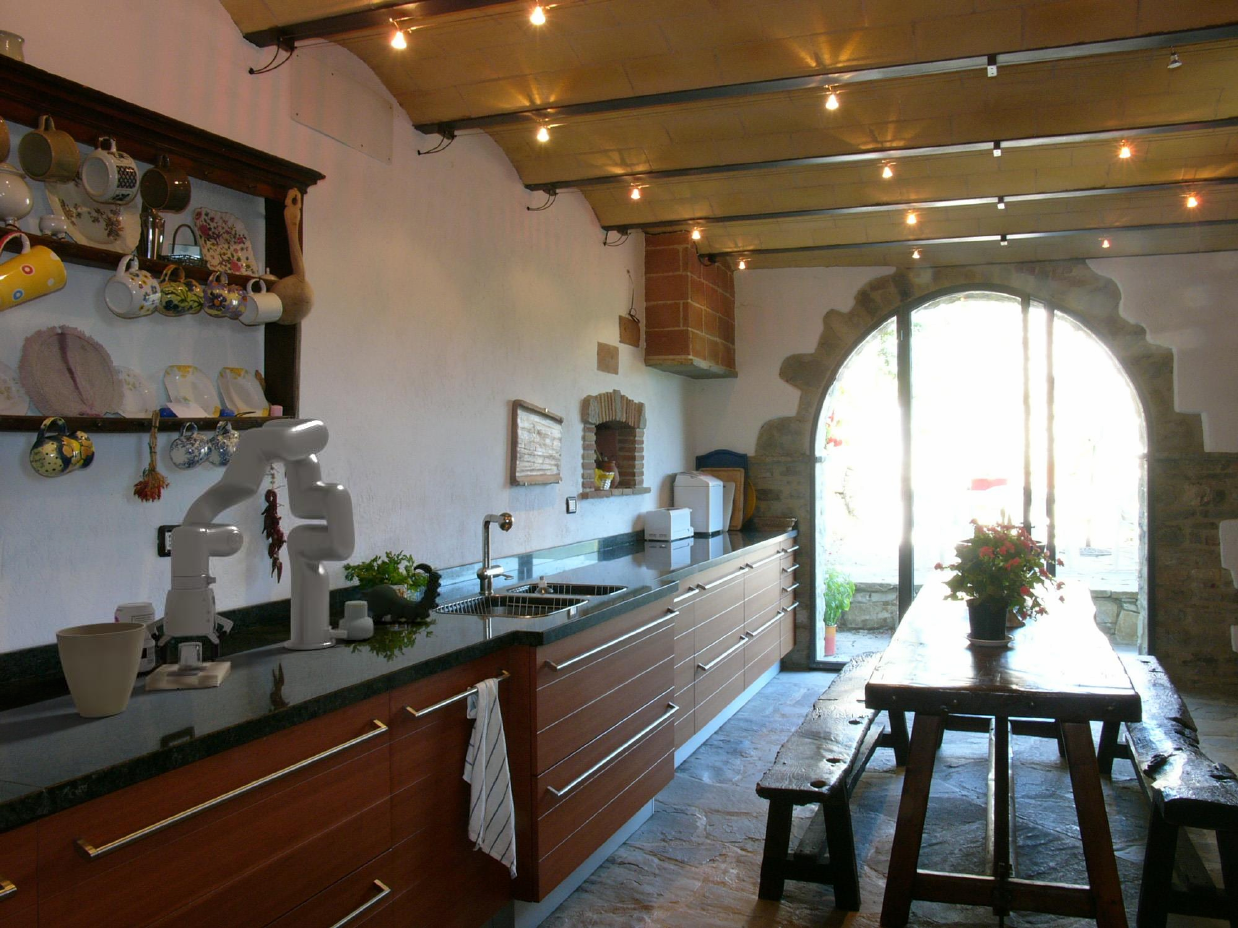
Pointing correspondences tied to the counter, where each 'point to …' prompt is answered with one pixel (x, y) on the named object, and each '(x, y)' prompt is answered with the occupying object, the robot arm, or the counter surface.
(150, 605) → the supplement can
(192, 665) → the bushing
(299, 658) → the counter surface
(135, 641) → the plant pot
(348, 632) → the air freshener
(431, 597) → the toy figurine
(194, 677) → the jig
